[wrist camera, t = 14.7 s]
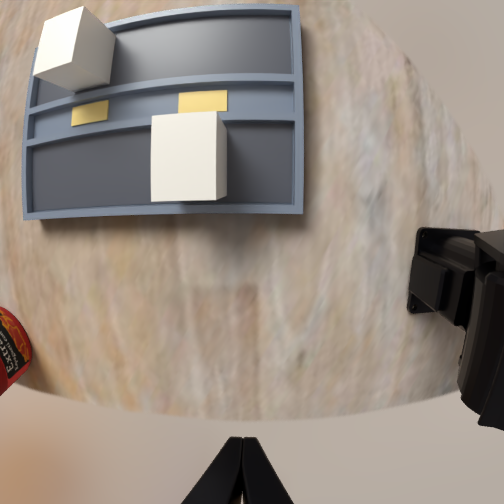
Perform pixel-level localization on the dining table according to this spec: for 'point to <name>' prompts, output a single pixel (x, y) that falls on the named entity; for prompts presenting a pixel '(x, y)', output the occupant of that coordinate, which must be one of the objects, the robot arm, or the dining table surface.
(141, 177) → the divided tray
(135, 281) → the dining table surface
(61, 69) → the cream rectangular block
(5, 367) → the canned food
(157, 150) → the white block
